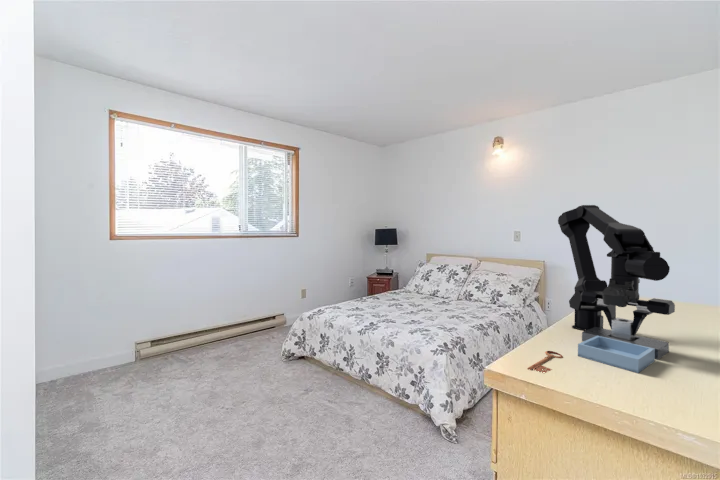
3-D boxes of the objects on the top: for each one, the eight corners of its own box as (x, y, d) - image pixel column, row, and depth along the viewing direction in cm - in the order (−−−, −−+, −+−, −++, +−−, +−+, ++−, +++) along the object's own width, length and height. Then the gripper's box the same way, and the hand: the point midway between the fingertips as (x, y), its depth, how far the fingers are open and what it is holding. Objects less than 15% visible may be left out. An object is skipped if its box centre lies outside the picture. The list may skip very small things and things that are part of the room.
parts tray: (577, 356, 79) (578, 343, 79) (597, 346, 85) (597, 335, 85) (638, 373, 69) (638, 359, 69) (654, 361, 76) (654, 348, 76)
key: (547, 379, 68) (573, 361, 77) (548, 374, 68) (574, 357, 77) (520, 367, 72) (547, 352, 82) (520, 363, 72) (548, 348, 82)
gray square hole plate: (581, 340, 90) (582, 332, 90) (595, 335, 95) (595, 326, 95) (657, 359, 76) (658, 349, 76) (668, 351, 81) (668, 342, 81)
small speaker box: (611, 345, 86) (611, 319, 86) (616, 342, 88) (617, 317, 88) (629, 350, 83) (630, 322, 83) (635, 347, 85) (635, 320, 85)
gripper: (572, 273, 88) (571, 329, 89) (662, 282, 73) (661, 350, 73) (589, 270, 95) (588, 323, 95) (676, 278, 79) (674, 340, 79)
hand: (623, 333), depth 85 cm, fingers closed on small speaker box, 4 cm apart
